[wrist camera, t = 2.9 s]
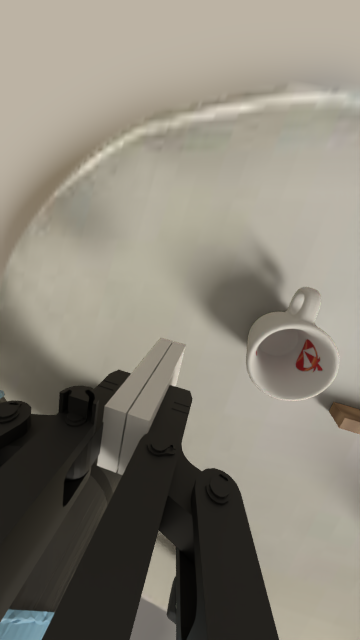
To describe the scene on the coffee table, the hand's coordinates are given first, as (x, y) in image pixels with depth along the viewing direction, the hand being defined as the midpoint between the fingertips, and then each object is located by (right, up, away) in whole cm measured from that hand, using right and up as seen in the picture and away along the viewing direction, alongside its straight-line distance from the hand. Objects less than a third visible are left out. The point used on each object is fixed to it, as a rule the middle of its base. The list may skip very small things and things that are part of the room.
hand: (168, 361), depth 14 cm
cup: (+13, +2, +14) cm, 19 cm away
